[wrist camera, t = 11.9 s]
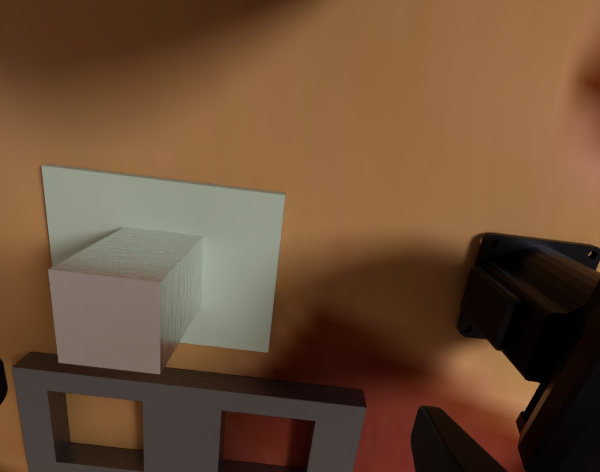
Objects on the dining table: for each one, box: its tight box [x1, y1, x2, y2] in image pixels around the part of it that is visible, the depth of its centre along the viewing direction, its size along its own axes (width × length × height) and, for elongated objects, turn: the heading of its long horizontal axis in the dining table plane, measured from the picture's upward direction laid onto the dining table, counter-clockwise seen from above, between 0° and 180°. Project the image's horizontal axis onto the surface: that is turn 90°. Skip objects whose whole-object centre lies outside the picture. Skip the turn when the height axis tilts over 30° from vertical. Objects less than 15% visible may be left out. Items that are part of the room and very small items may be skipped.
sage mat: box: [41, 164, 286, 353], centre depth 20 cm, size 13×10×1 cm
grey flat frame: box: [12, 352, 367, 472], centre depth 24 cm, size 22×9×2 cm, turn 83°
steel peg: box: [48, 227, 204, 374], centre depth 17 cm, size 4×4×6 cm
